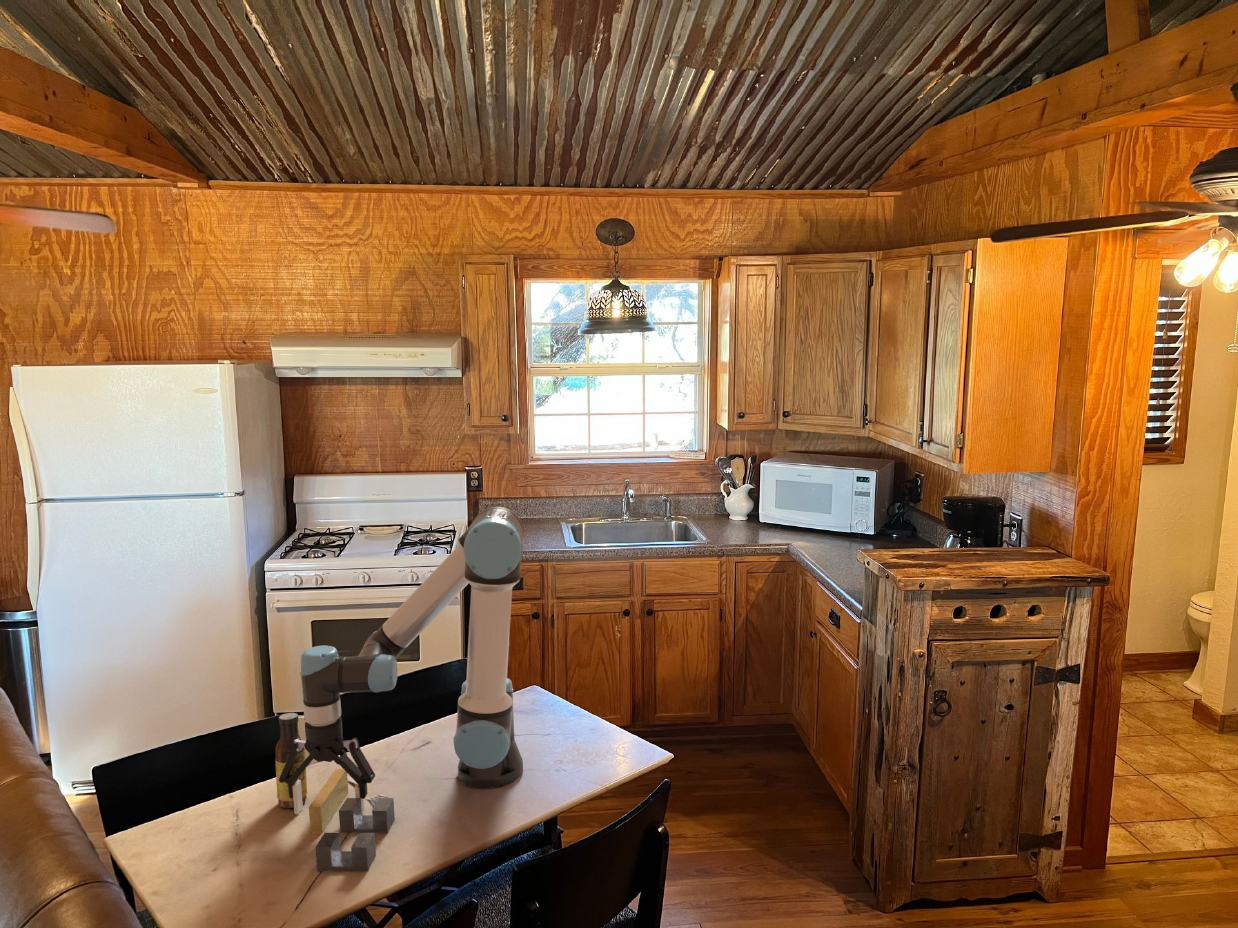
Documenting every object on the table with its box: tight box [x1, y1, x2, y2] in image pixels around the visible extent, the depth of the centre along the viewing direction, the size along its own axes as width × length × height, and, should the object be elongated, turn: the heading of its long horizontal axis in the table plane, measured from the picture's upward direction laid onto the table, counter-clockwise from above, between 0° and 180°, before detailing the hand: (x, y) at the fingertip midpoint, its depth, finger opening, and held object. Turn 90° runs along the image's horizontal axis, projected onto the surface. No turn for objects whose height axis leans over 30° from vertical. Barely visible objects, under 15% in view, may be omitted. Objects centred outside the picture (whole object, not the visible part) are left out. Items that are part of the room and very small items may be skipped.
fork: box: [347, 775, 389, 802], centre depth 204 cm, size 3×24×2 cm, turn 45°
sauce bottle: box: [274, 712, 308, 809], centre depth 195 cm, size 6×6×20 cm
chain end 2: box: [314, 832, 377, 872], centre depth 174 cm, size 10×5×5 cm, turn 88°
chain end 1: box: [338, 797, 396, 834], centre depth 186 cm, size 10×5×5 cm, turn 88°
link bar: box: [308, 768, 349, 834], centre depth 192 cm, size 2×16×6 cm, turn 178°
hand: (329, 811), depth 193 cm, fingers open, 13 cm apart
